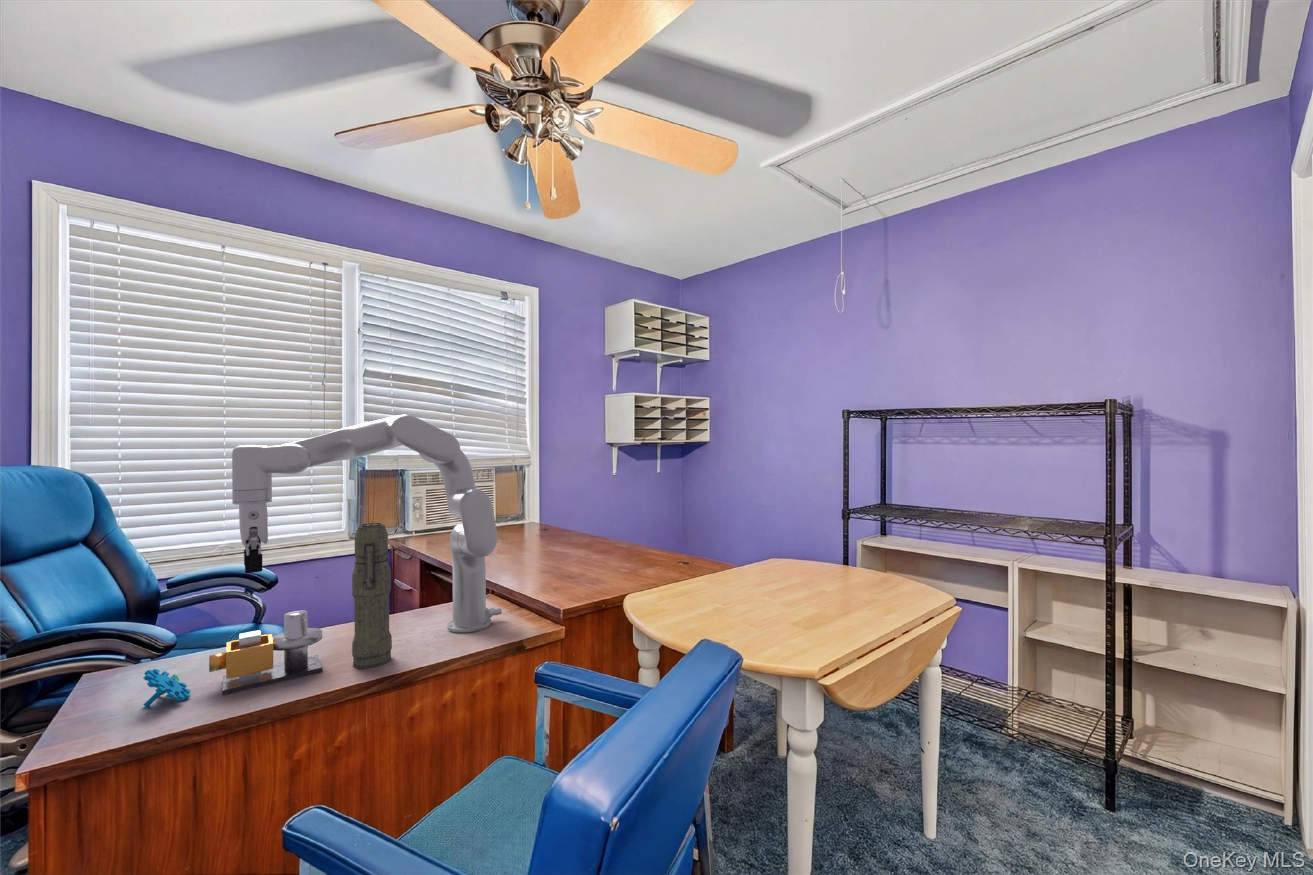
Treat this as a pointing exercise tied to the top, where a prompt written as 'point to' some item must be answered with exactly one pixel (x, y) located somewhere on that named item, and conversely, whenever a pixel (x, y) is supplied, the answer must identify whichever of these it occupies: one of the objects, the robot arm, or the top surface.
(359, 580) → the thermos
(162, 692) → the blue splat shape
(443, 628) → the top surface
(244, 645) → the tall grey block
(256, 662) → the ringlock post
